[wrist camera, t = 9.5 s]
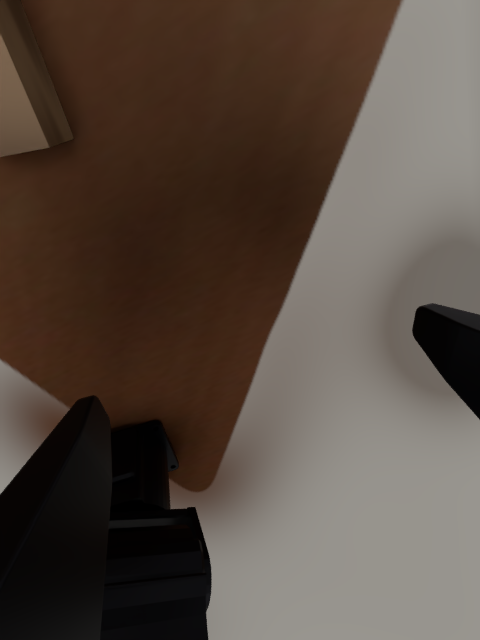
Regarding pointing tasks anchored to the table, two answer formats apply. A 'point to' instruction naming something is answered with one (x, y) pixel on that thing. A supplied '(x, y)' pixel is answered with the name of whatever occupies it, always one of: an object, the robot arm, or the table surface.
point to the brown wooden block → (26, 89)
